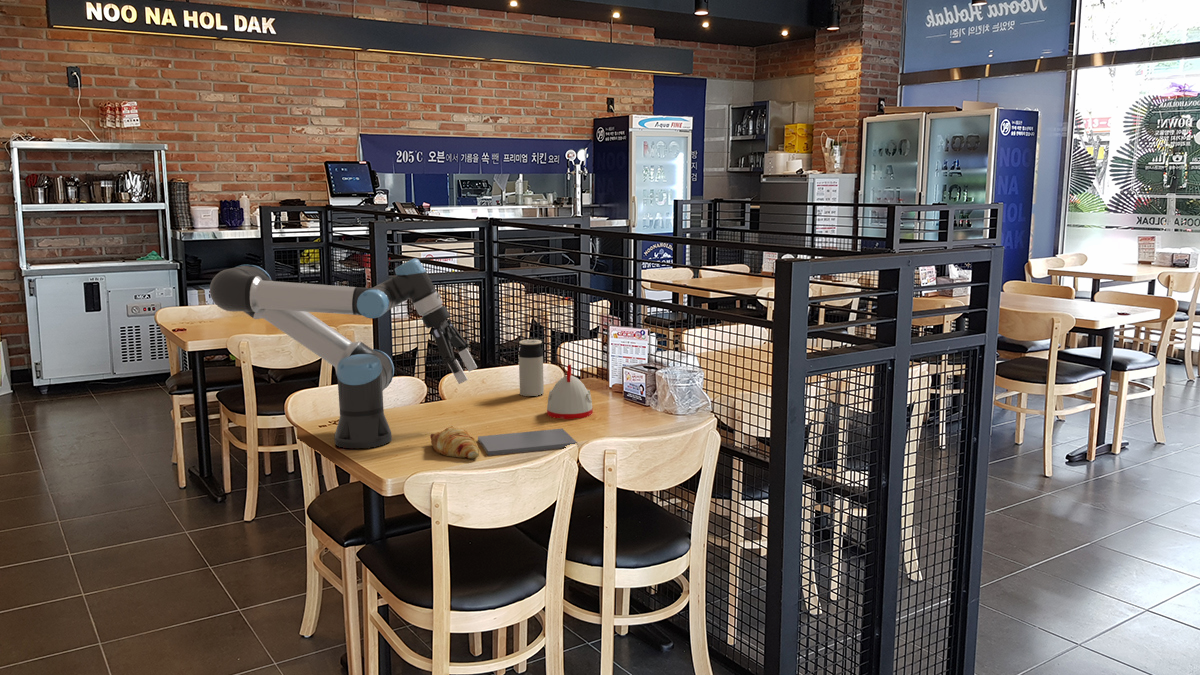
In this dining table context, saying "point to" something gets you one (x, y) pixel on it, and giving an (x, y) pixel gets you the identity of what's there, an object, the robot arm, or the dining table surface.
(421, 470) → the dining table surface
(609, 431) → the dining table surface
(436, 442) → the croissant
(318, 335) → the robot arm
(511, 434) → the slate board
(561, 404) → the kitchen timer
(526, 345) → the travel mug
